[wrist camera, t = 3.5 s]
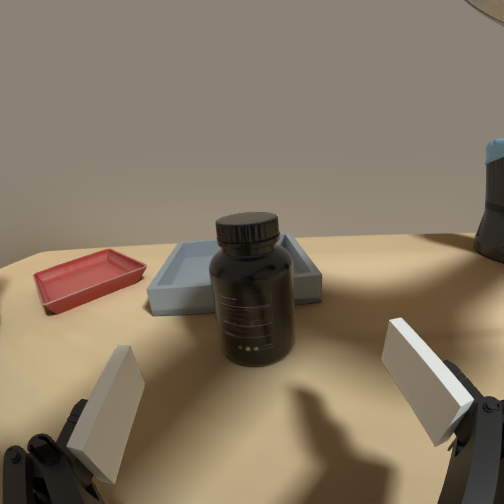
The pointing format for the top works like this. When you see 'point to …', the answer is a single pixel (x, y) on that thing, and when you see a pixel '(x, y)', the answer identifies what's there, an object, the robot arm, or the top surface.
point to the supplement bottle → (253, 289)
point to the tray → (199, 286)
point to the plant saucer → (86, 279)
